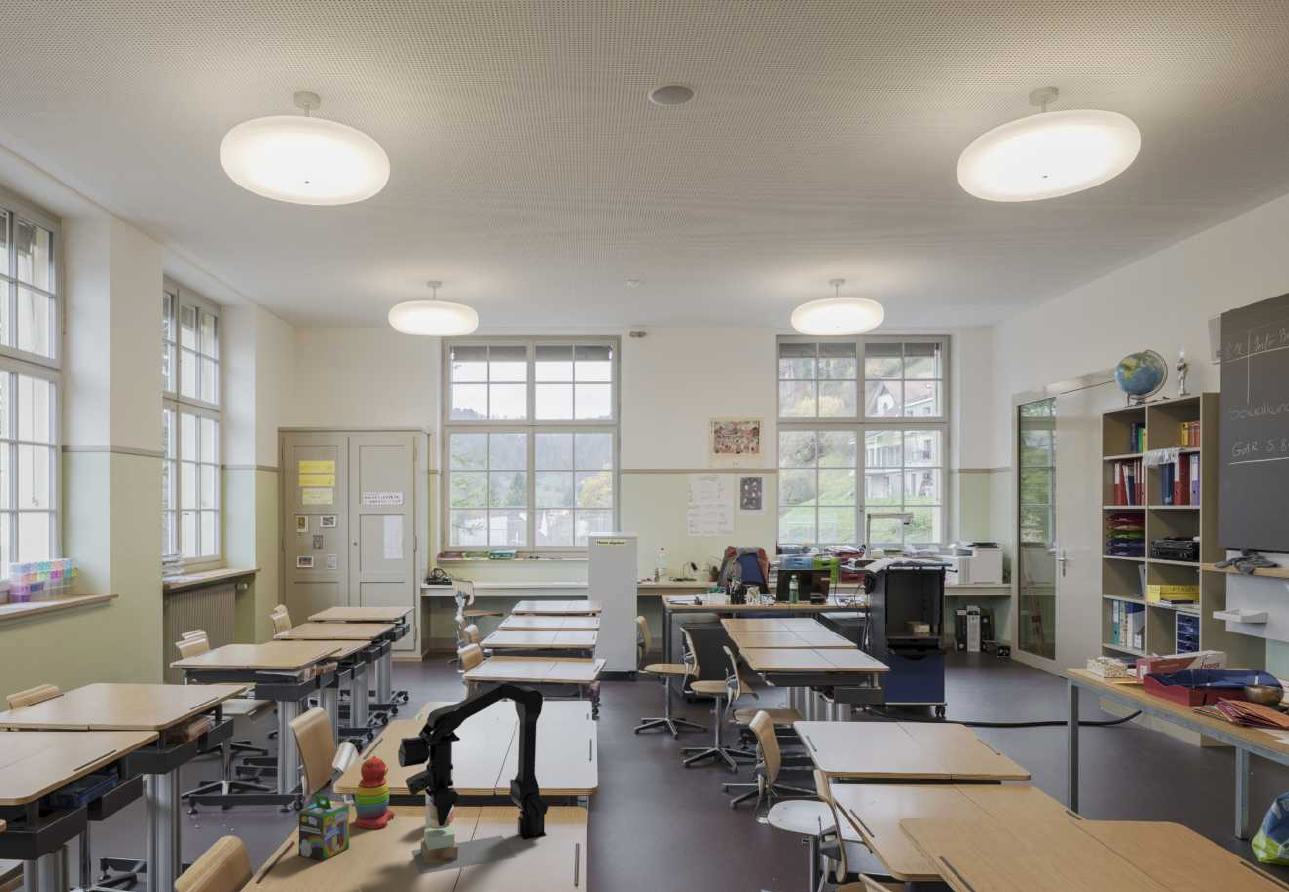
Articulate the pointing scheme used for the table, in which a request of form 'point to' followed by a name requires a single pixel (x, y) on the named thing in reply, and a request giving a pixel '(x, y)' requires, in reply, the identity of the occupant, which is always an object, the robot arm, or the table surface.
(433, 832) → the sage top block
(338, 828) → the chalk box
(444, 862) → the rubber mat
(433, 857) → the walnut base block
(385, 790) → the stacking bear
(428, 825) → the ink cartridge box
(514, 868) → the table surface
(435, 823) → the maple cylinder
